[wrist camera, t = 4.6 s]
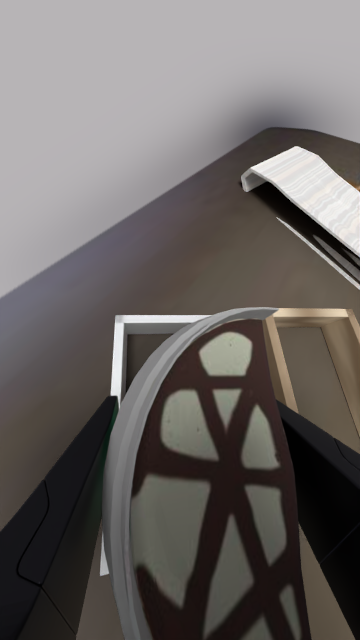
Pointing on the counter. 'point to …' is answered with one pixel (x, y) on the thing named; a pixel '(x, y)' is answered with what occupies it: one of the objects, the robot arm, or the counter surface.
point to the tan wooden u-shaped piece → (343, 343)
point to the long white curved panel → (315, 199)
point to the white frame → (122, 329)
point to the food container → (204, 493)
